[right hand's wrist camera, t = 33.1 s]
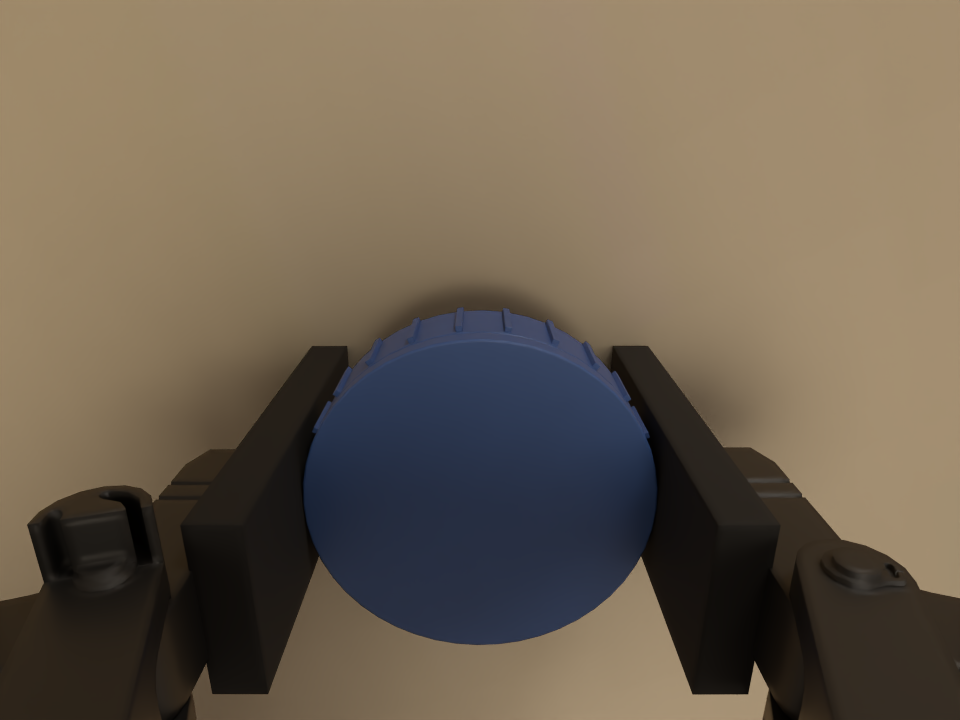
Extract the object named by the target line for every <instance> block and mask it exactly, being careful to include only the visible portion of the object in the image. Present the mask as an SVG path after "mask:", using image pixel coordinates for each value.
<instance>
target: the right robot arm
mask: <svg viewBox="0 0 960 720" xmlns="http://www.w3.org/2000/svg"><path fill="white" fill-rule="evenodd" d="M348 367H349V366H348V353H347V346H312V347H311V348H310V350H309V351H308V352H307V354H306V355H305V356H304V358H303V359H302V361H301V362H300V363H299V365H298V366H297V367H296V369H295V370H294V371H293V373H292V374H291V375H290V377H289V378H288V379H287V381H286V382H285V384H284V385H283V386H282V388H281V389H280V390H279V392H278V393H277V394H276V396H275V397H274V398H273V400H272V401H271V402H270V404H269V405H268V407H267V408H266V409H265V411H264V412H263V413H262V415H261V416H260V417H259V419H258V420H257V421H256V423H255V424H254V426H253V427H252V428H251V430H250V431H249V432H248V434H247V435H246V436H245V438H244V439H243V440H242V442H241V443H240V444H239V446H238V447H237V449H236V450H209V451H207V452H206V453H204V454H202V455H201V456H199V457H197V458H196V459H194V460H192V461H191V462H189V463H187V464H186V465H185V466H184V467H183V469H182V470H181V471H180V472H179V473H178V474H177V476H176V477H175V478H174V479H173V480H172V481H171V485H168V486H167V487H166V489H165V490H164V491H163V492H162V493H161V494H160V496H159V500H155V501H154V503H152V498H151V495H149V494H148V493H147V492H145V491H144V490H143V489H141V488H135V487H130V486H106V487H100V488H95V489H91V490H86V491H82V492H79V493H76V494H74V495H71V496H68V497H66V498H63V499H61V500H58V501H56V502H55V503H53V504H51V505H50V506H48V507H47V508H45V509H43V510H42V511H40V512H39V513H38V514H37V515H36V516H35V517H34V518H33V519H32V520H31V521H30V522H29V523H28V524H27V526H28V529H29V533H30V536H31V539H32V543H33V546H34V550H35V553H36V557H37V560H38V564H39V567H40V570H41V574H42V577H43V581H44V584H43V586H42V588H41V590H40V592H39V593H37V594H33V595H29V596H24V597H19V598H14V599H9V600H4V601H0V720H196V713H195V706H194V701H193V696H192V690H193V688H194V686H195V684H196V682H197V680H198V678H199V677H200V675H201V673H202V671H203V669H204V667H205V665H206V663H207V668H208V673H209V678H210V683H211V689H212V694H268V693H269V690H270V687H271V684H272V682H273V679H274V676H275V674H276V671H277V668H278V666H279V663H280V660H281V657H282V655H283V652H284V649H285V647H286V644H287V641H288V639H289V636H290V633H291V630H292V628H293V625H294V622H295V620H296V617H297V614H298V611H299V609H300V606H301V603H302V601H303V598H304V595H305V593H306V590H307V587H308V584H309V582H310V579H311V576H312V574H313V571H314V568H315V566H316V563H317V560H318V557H319V554H318V552H317V550H316V548H315V546H314V544H313V542H312V539H311V536H310V533H309V529H308V526H307V523H306V518H305V512H304V506H303V478H304V471H305V464H306V460H307V457H308V453H309V450H310V447H311V443H312V441H313V439H314V437H315V435H316V433H313V432H312V431H313V428H314V426H315V424H316V422H317V420H318V419H319V417H320V415H321V413H322V411H323V409H324V407H325V406H326V404H327V402H328V401H330V402H332V401H333V399H334V397H335V396H334V395H333V393H334V391H335V389H336V387H337V385H338V383H339V381H340V379H341V378H342V376H343V374H344V372H345V370H346V369H347V368H348ZM614 371H616V373H617V374H618V376H619V377H620V379H621V381H622V383H623V385H624V387H625V389H626V390H627V392H628V394H629V396H630V398H631V400H629V401H628V402H629V404H630V406H631V407H632V406H634V407H635V408H636V410H637V412H638V414H639V416H640V418H641V420H642V422H643V423H644V425H645V427H646V429H647V431H648V433H649V436H650V438H647V441H648V444H649V446H650V448H651V452H652V456H653V460H654V464H655V468H656V477H657V487H658V492H657V509H656V514H655V518H654V523H653V528H652V531H651V534H650V536H649V539H648V542H647V544H646V547H645V549H644V551H643V553H642V555H641V557H642V559H643V562H644V565H645V567H646V570H647V573H648V576H649V578H650V581H651V584H652V586H653V589H654V592H655V594H656V597H657V600H658V602H659V605H660V608H661V610H662V613H663V616H664V619H665V621H666V624H667V627H668V629H669V632H670V635H671V637H672V640H673V643H674V645H675V648H676V651H677V654H678V656H679V659H680V662H681V664H682V667H683V670H684V672H685V675H686V678H687V680H688V683H689V686H690V689H691V691H692V694H748V692H749V687H750V682H751V677H752V671H753V666H754V661H755V662H756V664H757V666H758V668H759V670H760V672H761V674H762V676H763V678H764V680H765V682H766V684H767V686H768V688H769V691H768V696H767V701H766V705H765V710H764V715H763V720H960V598H955V597H950V596H945V595H940V594H935V593H931V592H927V591H923V590H920V589H919V587H918V585H917V583H916V581H915V580H914V579H913V578H912V576H911V575H910V574H909V572H908V571H907V570H906V569H905V568H904V567H903V566H901V565H900V564H899V563H897V562H896V561H894V560H893V559H892V558H890V557H889V556H887V555H885V554H883V553H881V552H878V551H876V550H874V549H872V548H870V547H867V546H865V545H861V544H857V543H853V542H849V541H845V540H841V539H840V538H839V537H838V535H837V534H836V533H835V532H834V531H833V530H832V528H831V527H830V526H829V525H828V524H827V523H826V521H825V520H824V519H823V518H822V517H821V516H820V514H819V513H818V512H817V511H816V510H815V509H814V507H813V506H812V505H811V504H810V503H809V502H808V500H807V499H806V498H802V493H801V492H800V491H799V490H798V489H797V488H796V486H795V485H794V484H793V483H790V481H789V480H790V479H789V478H788V477H787V476H786V475H785V474H784V473H783V471H782V470H781V469H780V468H779V467H778V466H777V464H776V463H775V462H773V461H772V460H770V459H768V458H767V457H765V456H763V455H762V454H760V453H758V452H757V451H755V450H753V449H752V448H723V447H722V445H721V444H720V443H719V441H718V440H717V439H716V437H715V436H714V435H713V433H712V432H711V431H710V429H709V428H708V426H707V425H706V424H705V422H704V421H703V420H702V418H701V417H700V416H699V414H698V413H697V412H696V410H695V409H694V408H693V406H692V405H691V404H690V402H689V401H688V399H687V398H686V397H685V395H684V394H683V393H682V391H681V390H680V389H679V387H678V386H677V385H676V383H675V382H674V381H673V379H672V378H671V377H670V375H669V374H668V372H667V371H666V370H665V368H664V367H663V366H662V364H661V363H660V362H659V360H658V359H657V358H656V356H655V355H654V354H653V352H652V351H651V350H650V348H649V347H648V346H613V355H612V368H611V373H613V372H614Z"/></svg>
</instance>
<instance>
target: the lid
mask: <svg viewBox="0 0 960 720" xmlns="http://www.w3.org/2000/svg"><path fill="white" fill-rule="evenodd" d="M333 395H334V396H335V397H334V399H333V401H332V402H330V401H328V402H327V404H326V406H325V407H324V409H323V411H322V413H321V415H320V417H319V419H318V420H317V422H316V424H315V426H314V428H313V431H312V432H313V433H316V435H315V437H314V439H313V441H312V443H311V447H310V450H309V453H308V457H307V460H306V464H305V471H304V478H303V506H304V512H305V518H306V523H307V526H308V529H309V533H310V536H311V539H312V542H313V544H314V546H315V548H316V550H317V552H318V554H319V556H320V558H321V560H322V562H323V563H324V565H325V566H326V568H327V569H328V571H329V572H330V574H331V575H332V577H333V578H334V579H335V580H336V581H337V583H338V584H339V585H340V586H341V587H342V588H343V589H344V590H345V592H346V593H348V594H349V595H350V596H351V597H352V598H353V599H354V600H356V601H357V602H358V603H359V604H360V605H361V606H363V607H364V608H366V609H367V610H368V611H370V612H371V613H373V614H374V615H376V616H377V617H379V618H381V619H383V620H384V621H386V622H388V623H390V624H392V625H394V626H396V627H398V628H401V629H403V630H406V631H408V632H411V633H413V634H416V635H419V636H423V637H427V638H430V639H434V640H438V641H444V642H450V643H456V644H471V645H488V644H503V643H510V642H517V641H522V640H526V639H530V638H534V637H538V636H541V635H544V634H547V633H549V632H552V631H555V630H558V629H560V628H562V627H564V626H566V625H568V624H570V623H572V622H574V621H576V620H578V619H580V618H581V617H583V616H584V615H586V614H587V613H589V612H590V611H592V610H594V609H595V608H596V607H597V606H599V605H600V604H601V603H602V602H604V601H605V600H606V599H607V598H608V597H610V596H611V595H612V594H613V593H614V591H615V590H616V589H617V588H618V587H619V586H620V585H621V584H622V583H623V582H624V581H625V579H626V578H627V577H628V575H629V574H630V573H631V571H632V570H633V568H634V567H635V566H636V564H637V562H638V560H639V558H640V557H641V555H642V553H643V551H644V549H645V547H646V544H647V542H648V539H649V536H650V534H651V531H652V528H653V523H654V518H655V514H656V509H657V492H658V487H657V477H656V468H655V464H654V460H653V456H652V452H651V448H650V446H649V444H648V441H647V438H650V436H649V433H648V431H647V429H646V427H645V425H644V423H643V422H642V420H641V418H640V416H639V414H638V412H637V410H636V408H635V407H634V406H632V407H631V406H630V404H629V402H628V401H629V400H631V398H630V396H629V394H628V392H627V390H626V389H625V387H624V385H623V383H622V381H621V379H620V377H619V376H618V374H617V373H616V371H614V372H613V373H611V372H610V371H609V370H608V369H607V367H606V366H605V365H604V364H603V363H602V361H601V360H600V359H599V358H598V357H597V356H596V355H595V354H594V352H593V350H592V348H591V346H590V344H589V343H587V342H586V341H585V342H584V343H583V344H582V343H580V342H579V341H577V340H576V339H574V338H573V337H571V336H570V335H568V334H567V333H565V332H563V331H561V330H559V329H557V328H555V327H554V324H553V322H552V321H550V320H547V321H546V323H544V322H541V321H538V320H535V319H532V318H530V317H526V316H522V315H517V314H512V313H510V310H509V309H507V308H503V311H502V312H498V311H486V310H479V311H464V308H463V307H461V308H457V312H454V313H448V314H443V315H438V316H435V317H431V318H428V319H425V320H422V321H420V319H419V317H418V318H415V319H413V322H412V325H410V326H407V327H405V328H403V329H401V330H399V331H397V332H395V333H394V334H392V335H391V336H389V337H387V338H386V339H384V340H383V341H382V340H381V339H380V338H378V339H377V340H375V342H374V344H373V346H372V348H371V350H370V351H369V352H368V353H367V354H365V355H364V356H363V358H362V359H361V360H360V361H359V362H358V363H357V364H356V365H355V366H354V368H353V369H352V368H350V367H348V368H347V369H346V370H345V372H344V374H343V376H342V378H341V379H340V381H339V383H338V385H337V387H336V389H335V391H334V393H333Z"/></svg>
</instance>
